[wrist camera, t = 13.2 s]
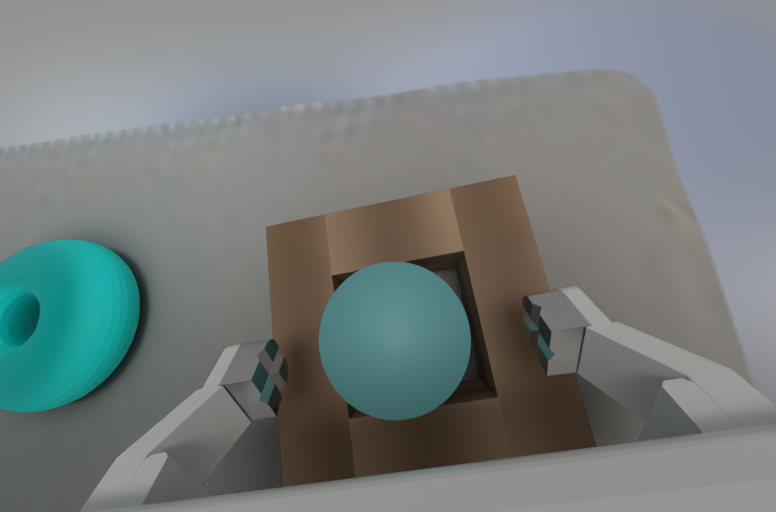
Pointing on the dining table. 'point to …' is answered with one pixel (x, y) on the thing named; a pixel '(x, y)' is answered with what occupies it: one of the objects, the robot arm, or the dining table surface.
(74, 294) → the donuts
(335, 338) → the teal rounded cylinder
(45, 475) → the dining table surface
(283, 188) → the dining table surface
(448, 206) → the brown square frame block
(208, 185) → the dining table surface
